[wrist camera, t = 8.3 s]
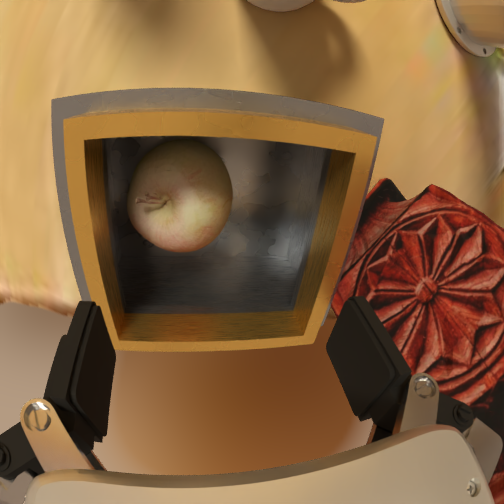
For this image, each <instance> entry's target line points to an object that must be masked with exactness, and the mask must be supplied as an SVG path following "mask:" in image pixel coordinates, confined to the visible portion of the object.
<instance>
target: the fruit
mask: <svg viewBox="0 0 504 504" xmlns="http://www.w3.org/2000/svg"><path fill="white" fill-rule="evenodd" d="M232 200H233V189H232V183H231V179H230V176H229V173H228V170H227V168H226V166H225V164H224V162H223V161H222V159H221V158H220V157H219V156H218V155H217V154H216V153H215V151H213V150H212V149H211V148H209V147H208V146H206V145H204V144H202V143H200V142H197V141H194V140H190V139H177V140H172V141H168V142H165V143H163V144H160V145H159V146H157V147H155V148H153V149H152V150H150V151H149V152H148V153H147V154H146V155H145V156H144V157H143V158H142V159H141V160H140V162H139V163H138V165H137V166H136V168H135V170H134V173H133V175H132V178H131V181H130V185H129V189H128V193H127V211H128V215H129V218H130V221H131V223H132V224H133V226H134V228H135V229H136V230H137V231H138V232H139V233H140V234H141V235H142V236H143V237H144V238H145V239H147V240H148V241H149V242H151V243H152V244H154V245H156V246H158V247H160V248H162V249H165V250H168V251H172V252H191V251H196V250H198V249H201V248H203V247H205V246H207V245H209V244H210V243H211V242H212V241H214V240H215V238H216V237H217V236H218V235H219V234H220V233H221V231H222V230H223V228H224V226H225V224H226V222H227V220H228V217H229V214H230V211H231V206H232Z"/></svg>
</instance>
